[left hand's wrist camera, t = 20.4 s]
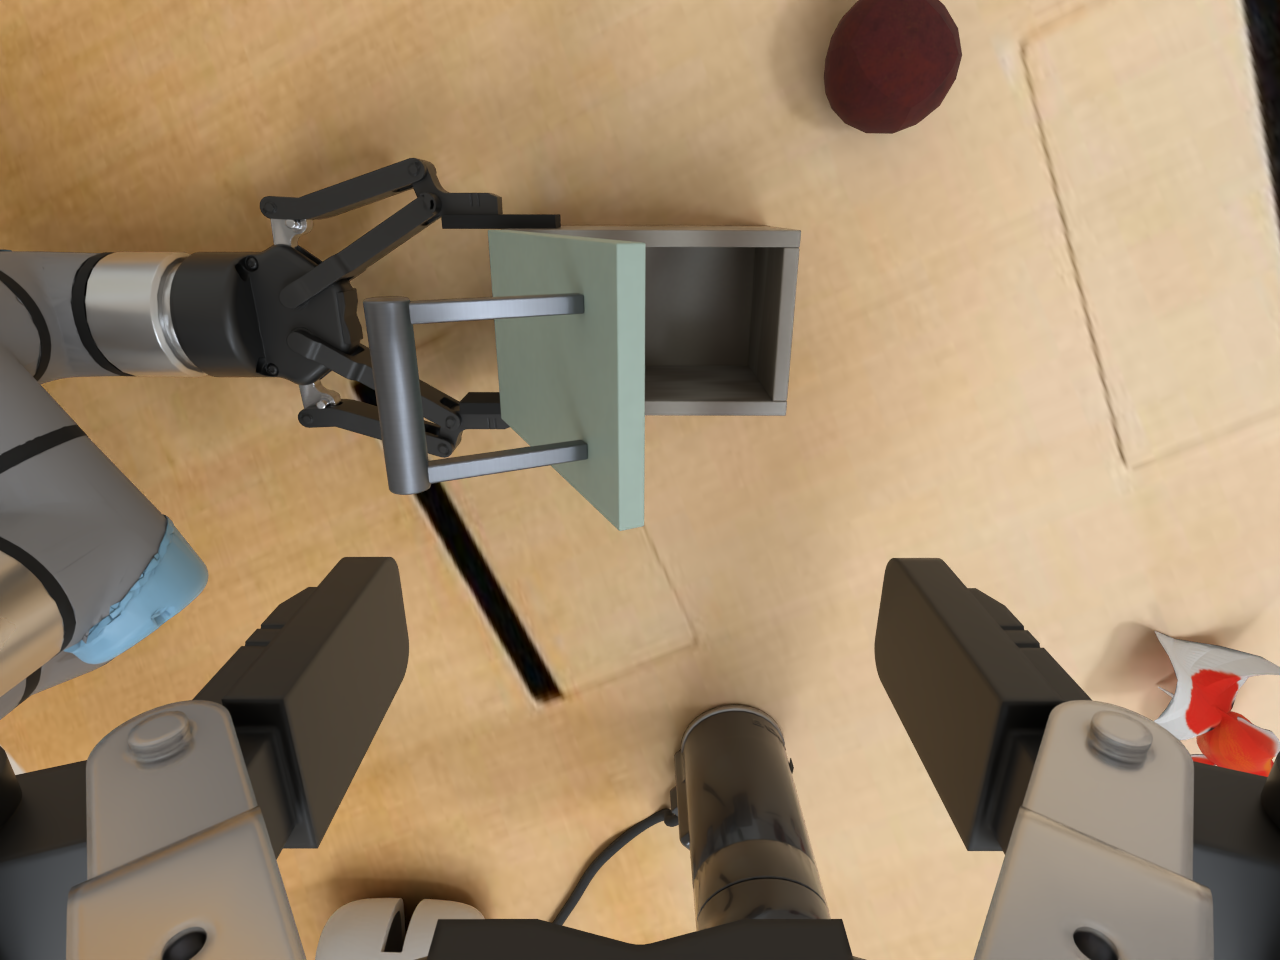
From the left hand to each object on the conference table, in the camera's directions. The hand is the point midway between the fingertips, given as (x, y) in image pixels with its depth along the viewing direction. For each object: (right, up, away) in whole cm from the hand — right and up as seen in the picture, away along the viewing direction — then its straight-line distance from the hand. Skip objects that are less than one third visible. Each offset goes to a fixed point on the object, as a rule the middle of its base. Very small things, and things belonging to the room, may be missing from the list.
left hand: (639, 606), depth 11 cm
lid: (-3, +8, +20) cm, 22 cm away
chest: (+1, +15, +38) cm, 41 cm away
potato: (+15, +28, +33) cm, 46 cm away
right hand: (-5, +12, +32) cm, 34 cm away
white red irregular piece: (+47, -16, +50) cm, 71 cm away
